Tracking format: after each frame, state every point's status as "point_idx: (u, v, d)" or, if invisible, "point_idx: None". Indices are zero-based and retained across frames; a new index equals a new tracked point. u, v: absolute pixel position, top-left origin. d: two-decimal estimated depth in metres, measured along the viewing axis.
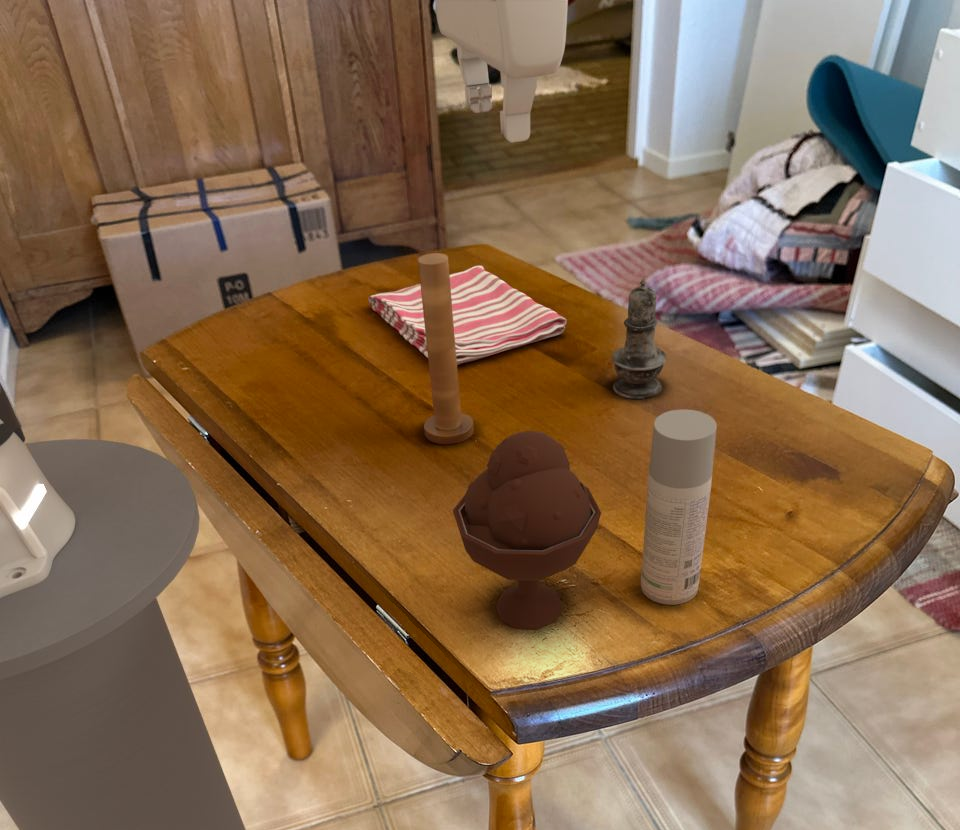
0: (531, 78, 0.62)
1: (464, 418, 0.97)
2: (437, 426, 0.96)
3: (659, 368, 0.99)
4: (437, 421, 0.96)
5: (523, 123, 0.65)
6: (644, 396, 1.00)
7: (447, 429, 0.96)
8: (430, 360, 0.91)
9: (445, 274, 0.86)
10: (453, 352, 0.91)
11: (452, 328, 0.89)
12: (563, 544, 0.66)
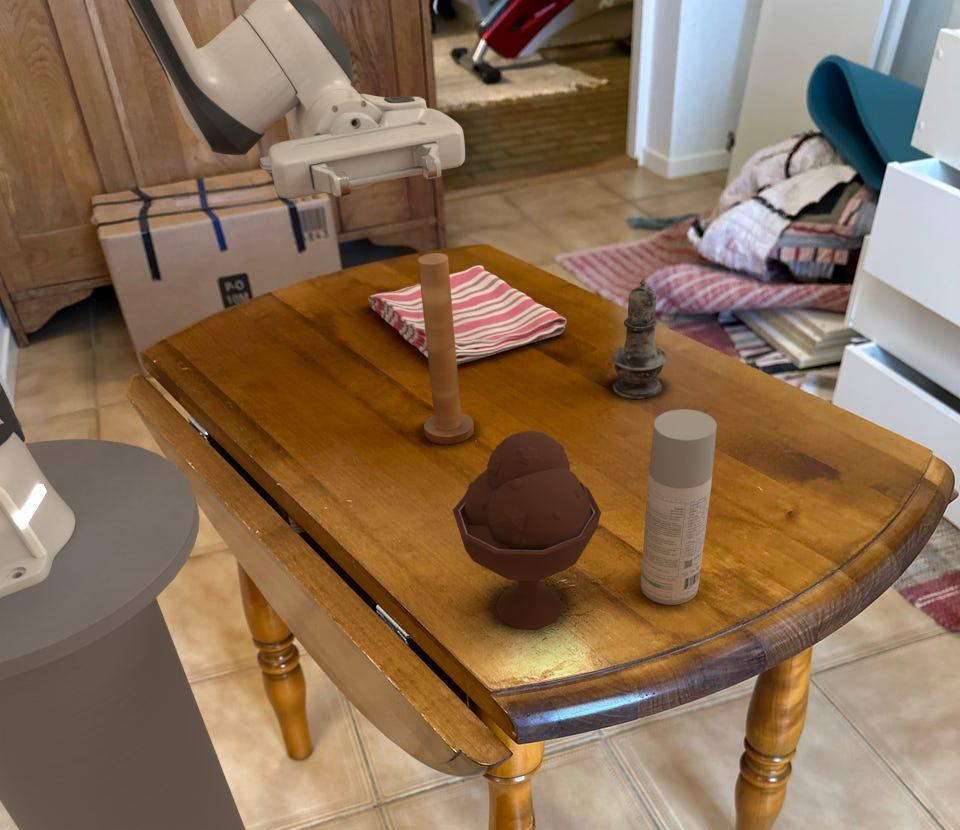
0: None
1: (464, 418, 0.97)
2: (437, 426, 0.96)
3: (659, 368, 0.99)
4: (437, 421, 0.96)
5: None
6: (644, 396, 1.00)
7: (447, 429, 0.96)
8: (430, 360, 0.91)
9: (445, 274, 0.86)
10: (453, 352, 0.91)
11: (452, 328, 0.89)
12: (563, 543, 0.66)
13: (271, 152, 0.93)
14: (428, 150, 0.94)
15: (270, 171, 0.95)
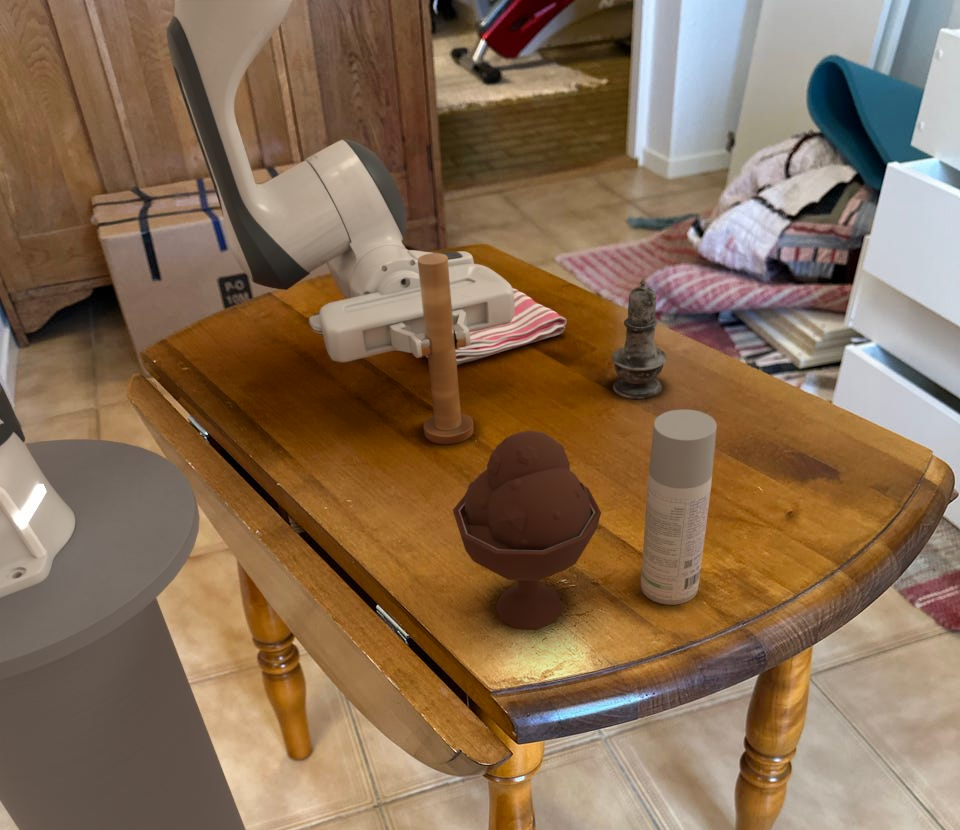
0: None
1: (464, 418, 0.97)
2: (437, 426, 0.96)
3: (659, 368, 0.99)
4: (437, 421, 0.96)
5: None
6: (644, 396, 1.00)
7: (447, 429, 0.96)
8: (430, 360, 0.91)
9: (445, 274, 0.86)
10: (453, 352, 0.91)
11: (452, 328, 0.89)
12: (563, 543, 0.66)
13: (323, 316, 0.93)
14: (456, 317, 0.93)
15: (321, 332, 0.95)
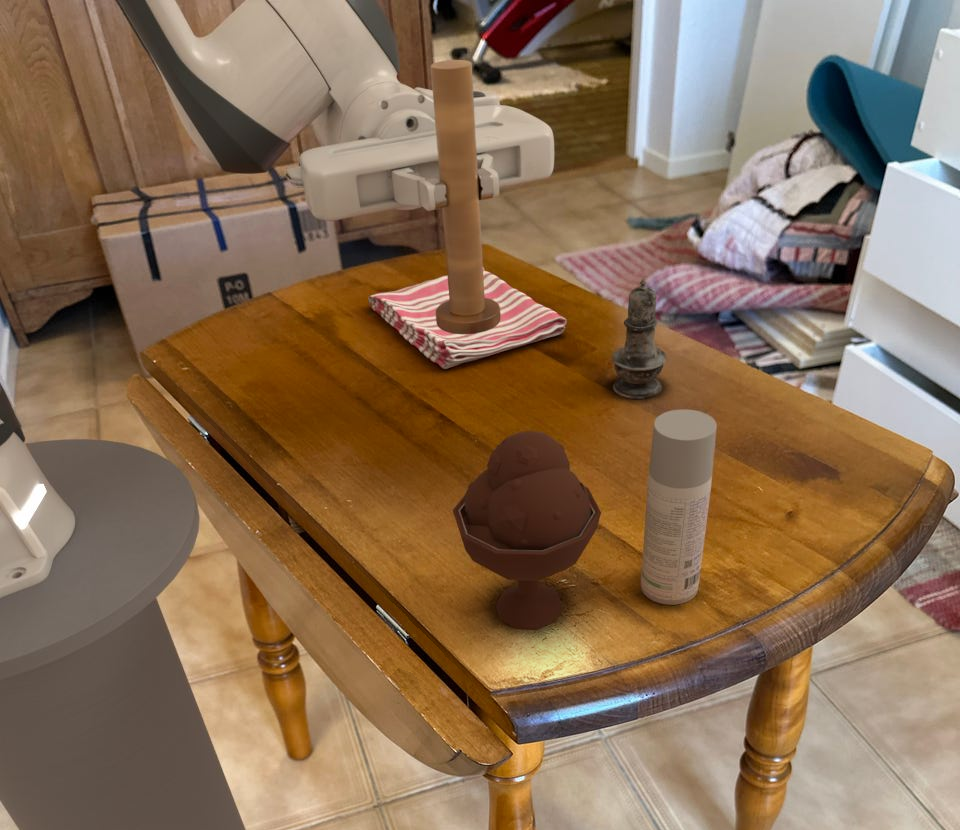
0: None
1: (488, 303, 0.75)
2: (453, 311, 0.74)
3: (659, 368, 0.99)
4: (453, 304, 0.73)
5: None
6: (644, 396, 1.00)
7: (466, 315, 0.73)
8: (445, 215, 0.69)
9: (468, 86, 0.63)
10: (476, 204, 0.68)
11: (476, 168, 0.67)
12: (563, 543, 0.66)
13: (304, 160, 0.70)
14: (479, 163, 0.70)
15: (301, 185, 0.72)
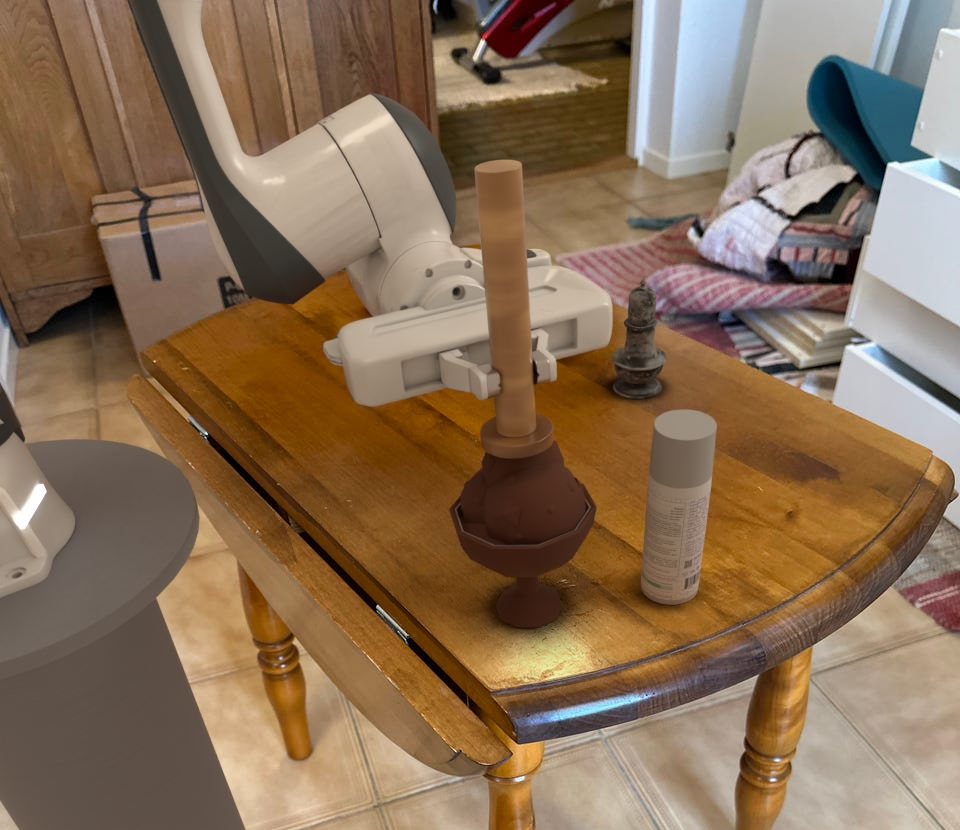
0: None
1: (539, 420, 0.66)
2: (500, 432, 0.65)
3: (659, 368, 0.99)
4: (501, 425, 0.64)
5: None
6: (644, 396, 1.00)
7: (516, 436, 0.64)
8: (492, 331, 0.60)
9: (518, 190, 0.54)
10: (527, 317, 0.60)
11: (526, 279, 0.58)
12: (558, 537, 0.66)
13: (343, 340, 0.65)
14: (534, 341, 0.65)
15: (340, 364, 0.67)
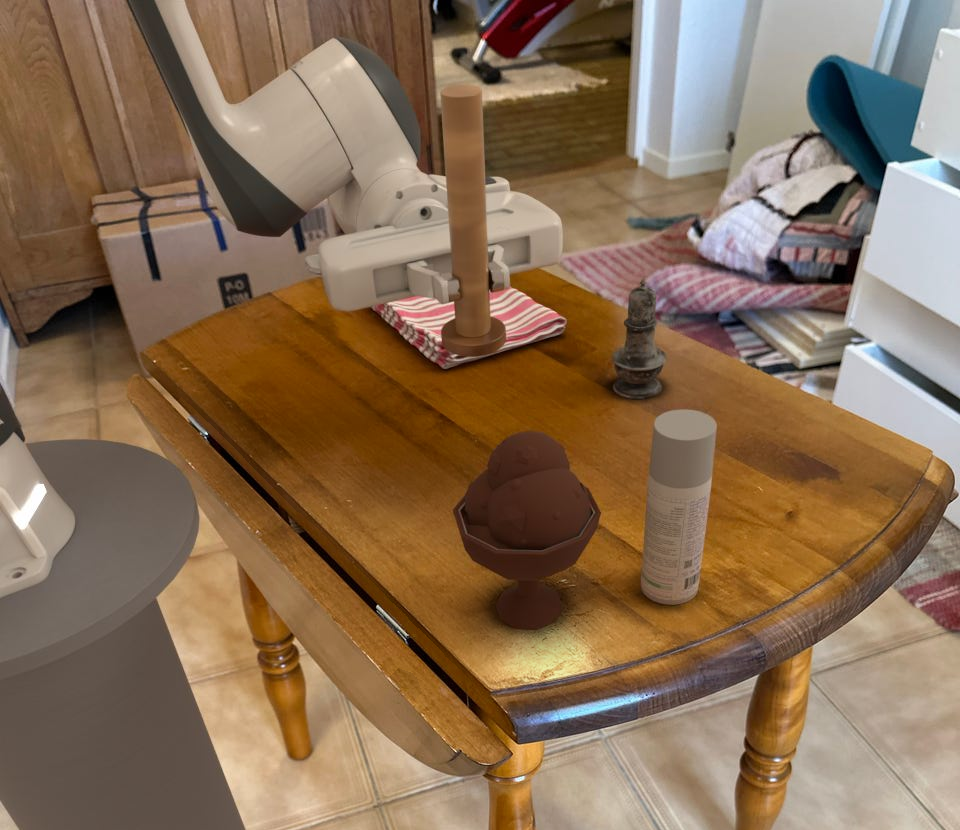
0: None
1: (494, 323, 0.75)
2: (459, 332, 0.73)
3: (659, 368, 0.99)
4: (459, 325, 0.73)
5: None
6: (644, 396, 1.00)
7: (472, 336, 0.73)
8: (453, 239, 0.68)
9: (477, 113, 0.62)
10: (484, 229, 0.68)
11: (484, 194, 0.66)
12: (563, 544, 0.66)
13: (322, 253, 0.73)
14: (491, 254, 0.73)
15: (320, 275, 0.75)
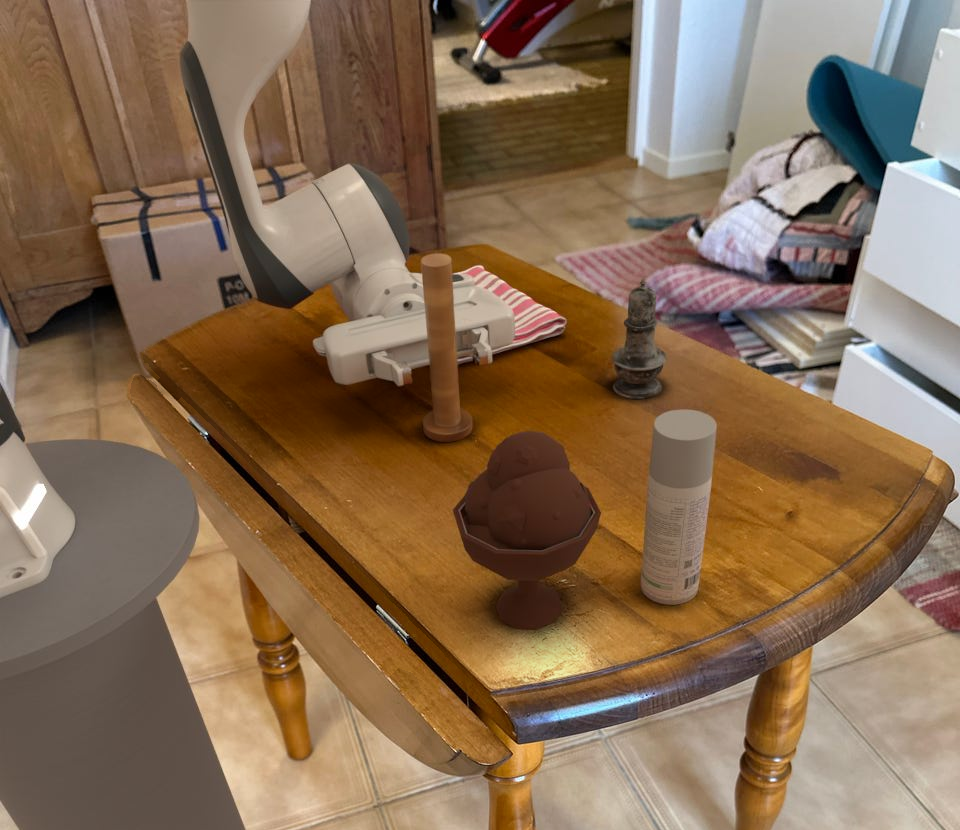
0: None
1: (463, 415, 0.98)
2: (436, 423, 0.96)
3: (659, 368, 0.99)
4: (436, 418, 0.96)
5: None
6: (644, 396, 1.00)
7: (446, 426, 0.96)
8: (431, 359, 0.91)
9: (448, 276, 0.85)
10: (454, 352, 0.91)
11: (454, 328, 0.89)
12: (563, 544, 0.66)
13: (327, 339, 0.94)
14: (478, 336, 0.95)
15: (324, 355, 0.96)
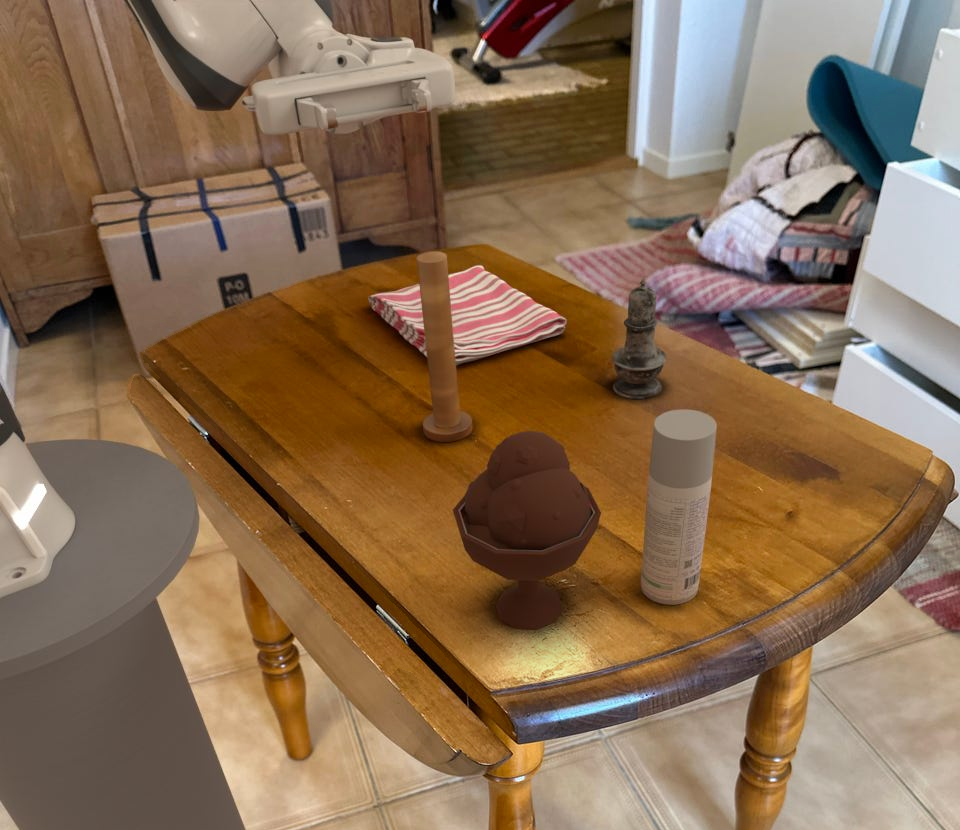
0: None
1: (463, 416, 0.98)
2: (436, 424, 0.96)
3: (659, 368, 0.99)
4: (436, 419, 0.96)
5: None
6: (644, 396, 1.00)
7: (446, 427, 0.96)
8: (429, 358, 0.92)
9: (444, 272, 0.86)
10: (452, 350, 0.91)
11: (451, 326, 0.90)
12: (562, 544, 0.66)
13: (254, 88, 0.90)
14: (417, 85, 0.90)
15: (253, 109, 0.92)
